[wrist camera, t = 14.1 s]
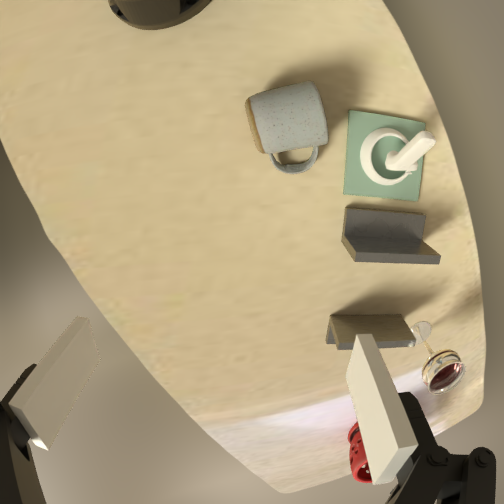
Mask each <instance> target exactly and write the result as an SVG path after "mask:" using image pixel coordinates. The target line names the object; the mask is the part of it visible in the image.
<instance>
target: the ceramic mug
mask: <svg viewBox="0 0 504 504" xmlns="http://www.w3.org/2000/svg"><path fill="white" fill-rule="evenodd" d="M245 107H246V112H247V117H248V121H249V125H250V129H251V132H252V135H253V138H254V141H255V145H256V147H257V149H258V151H260V152H261V153H269V157H270V160H271V162H272V164H273V165H274V166H275V168H276V169H278V170H279V171H281V172H284V173H288V174H297V173H302V172H305V171H307V170H308V169H310V168H311V167H312V165H313V164H314V163H315V161H316V159H317V155H318V149H319V147H318V146H320V145H325V144H327V143H328V127H327V121H326V116H325V111H324V108H323V104H322V101H321V97H320V94H319V91H318V89H317V87H316V85H315V84H314V83H313V82H312V81H306V82H302V83H298V84H293V85H288V86H284V87H280V88H277V89H273V90H268V91H264V92H261V93H258V94H255V95H253V96H251V97H249V98H248V99H247V100H246V102H245ZM313 146H314V147H313ZM306 147H313V152H312V155H311V157H310V159H309V160H308V161H306V162H304V163H301V164H294V165H289V164H286V165H282V164H280V163H279V162H278V161H276V159H275V158H274V156H273V154H272V153H278V152H284V151H288V150H293V149H299V148H306Z"/></svg>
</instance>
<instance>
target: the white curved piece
mask: <svg viewBox="0 0 504 504" xmlns="http://www.w3.org/2000/svg"><path fill="white" fill-rule="evenodd" d="M385 136H395V137H398V138H400V139H401V140H403V141H404V143H405V144H406V145H405V146H404V147H403V148H402V149H401V151H400V152H399V153H398V152H397V151H394V150H393V151H390V152H389V153H388V154H387V157H386V161H385V165H386V169H389V170H394V171H406V172H405V173H404V174H403V175H402V176H401V177H399V178H397V179H392V180H391V179H386V178H383V177H381V176H380V175H379V174H378V173H377V172H376V171H375V169H374V167H373V165H372V161H371V153H372V149H373V147H374V145H375V143H376V142H377V141H378V140H379V139H381V138H383V137H385ZM435 143H436V140H435V138H434V136H433V135H432V133H430V132H429V131H420V132H419V133H418V134H417V135H416V136H415V137H414V138H413V139H412V140H411V141H410V142H409V141H408V140H407V139H406V137H405V136H404V135H403V134H402V133H400V132H399V131H397V130H395V129H392V128H380V129H376V130H374V131H373V132H371V133H370V134H369V135H368V136H367V137H366V138H365V140H364V141H363V144H362V146H361V150H360V161H361V165H362V168H363V170H364V172H365V173H366V175H367V176H368V177H369V178H370V179H371V180H372V181H374V182H376V183H378V184H381V185H394V184H396V183H399V182H401V181H402V180H403V179H404V178H406V177H407V175H408V174H412V173H411V172H410V171H415V170H417V167H418V162H417V160H418V159H419V158H420V157H422V156H423V155H424V154H425V153H426V152H427V151H428V150H430V149H431V148H432V147H433V146H434V145H435Z"/></svg>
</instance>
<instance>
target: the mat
mask: <svg viewBox="0 0 504 504" xmlns="http://www.w3.org/2000/svg"><path fill="white" fill-rule="evenodd" d="M380 128H392V129H395V130H397V131H399V132H400V133H402V134H403V135H404V136H405V137H406V139H407V140H408V141H409V142H410V141H411V140H412V139H413V138H414V137H415V136H416V135H417V134H418V133H419V132H420V131H425V123H423V122H418V121H413V120H408V119H403V118H397V117H392V116H386V115H380V114H374V113H367V112H360V111H353V110H349V114H348V135H347V151H346V165H345V178H344V189H343V194H344V195H356V196H368V197H379V198H390V199H400V200H409V201H418V197H419V189H420V181H421V173H422V163H423V156H422V157H420V158H419V159H418V160H417V162H418V167H417V170H415V171H410V172H411V173H412V174H408V175H407V177H406V178H404V179H403V180H402V181H401V182H399V183H396V184H394V185H381V184H378V183H376V182H374V181H372V180H371V179H370V178H369V177H368V176H367V175H366V173H365V172H364V170H363V168H362V165H361V161H360V150H361V146H362V144H363V141H364V140H365V138H366V137H367V136H368V135H369V134H370V133H371V132H373V131H374V130H376V129H380ZM405 145H406V144H405V143H404V141H403V140H401V139H400V138H398V137H395V136H385V137H383V138H381V139H379V140H378V141H377V142H376V143H375V145H374V147H373V149H372V153H371V161H372V165H373V167H374V169H375V171H376V172H377V173H378V174H379V175H380V176H381V177H383V178H386V179H391V180H392V179H397V178H399V177H401V176H402V175H403V174H404V173H405V172H406V171H394V170H389V169H386V165H385V161H386V157H387V154H388V153H389V152H390V151H393V150H394V151H397V152H398V153H399V152H400V151H401V149H402V148H403V147H404V146H405Z"/></svg>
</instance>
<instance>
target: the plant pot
mask: <svg viewBox="0 0 504 504" xmlns="http://www.w3.org/2000/svg"><path fill="white" fill-rule="evenodd" d="M348 441H349V443H350V444H351V446H350V465H351V471H352V474H353V477H354V479H355V480H357V481H359V482H363V483H371V482H372V477H371V473H370V469H369V465H368V460H367V456H366V452H365V448H364V444H363V440H362V436H361V432H360V428H359V424H358V422H357V423H356V424H355V425H354V426H353V427H352V428H351V430H350V432H349V434H348ZM364 464H365V468H361V467H362V466H363V465H364ZM366 470H368V471H369V473H366Z"/></svg>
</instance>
